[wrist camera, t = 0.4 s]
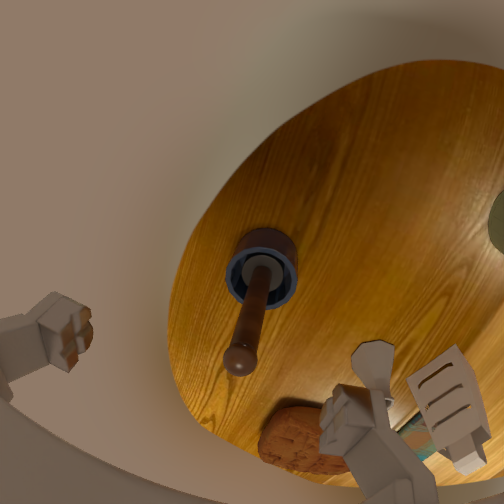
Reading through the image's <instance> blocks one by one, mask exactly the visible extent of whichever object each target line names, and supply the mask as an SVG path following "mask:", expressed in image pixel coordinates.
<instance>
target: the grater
mask: <svg viewBox="0 0 504 504" xmlns="http://www.w3.org/2000/svg"><path fill="white" fill-rule="evenodd" d="M450 362H452V364H453V366H451V367H447V368H445V369H444V370H442V371H441V372H440V373H438V374H437V375H435V376H434V377H432V378H431V379H429V380H428V381H426V382H425V383H423V384H422V386H421V388H420V389H419V388H418V385H419V383H420V382H421V381H422V380H424V379H425V378H427V377H428V376H429V375H431V374H432V373H434V372H435V371H437V370H438V369H440V368H441V367H442V366H444V365H445V364H447V363H450ZM406 381H407V383H408V385H409V387H410V390H411V392H412V394H413V396H414V398H415V400H416V403H417V405H418V407H419V409H420V412H421V414H422V416H423V418H424V421H425V423H426V425H427V428H428V430H429V432H430V435H431V437H432V440H433V442H434V444H435V447H436V449H437V452H439V453H440V454H442V455H443V456H445V457H446V458H448V459H450V460H451V461H452V462H453V465H454V467H455V469H456V471H458V472H460V473H462V474H463V475H465V476H466V475H468V474H470V473H472V472H474V471H476V470H477V469H479V468H481V467H483V466H484V465H486V464H487V460H486V456H485V453H484V450H483V447H482V444H483V443H484V442H486V441H487V440H489V439H490V438H491V433H490V429H489V424H488V420H487V416H486V412H485V408H484V404H483V400H482V397H481V393H480V390H479V386H478V383H477V380H476V376H475V373H474V370H473V369H472V367H471V366H470V364H469V363H468V361H467V360H466V358H465V357H464V356H463V354H462V353H461V351H460V350H459V348H458V347H457V346H456V344H454V345H453V346H452V347H450V348H449V349H448V350H446V351H445V352H444V353H442V354H441V355H440V356H438V357H437V358H435V359H434V360H433V361H431V362H430V363H428V364H427V365H426V366H424V367H423V368H421V369H420V370H418V371H417V372H415V373H414V374H412V375H411V376H409V377H408V378H406ZM427 404H428V406H429V407H428V406H427ZM470 405H471V407H472V408H471V409H466V408H467V407H469V406H470ZM426 406H427V407H428V408H429V409H428V408H426ZM425 408H426V409H427V410H426V409H425ZM456 414H457V415H456ZM435 423H436V425H435ZM434 425H435V426H436V427H434ZM432 427H434V428H435V430H434V428H433V429H432ZM432 430H433V431H434V432H432ZM443 448H445V449H446V451H445V449H443Z"/></svg>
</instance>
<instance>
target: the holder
mask: <svg viewBox="0 0 504 504" xmlns="http://www.w3.org/2000/svg"><path fill="white" fill-rule="evenodd" d="M256 252H262V253H268V254H272V255H274V256H275V257H277V258H279V259H281V260H282V261H283V262H284V263H285V269H284V277H283V281H282V283H281V284H280V286H279V287H278V288H276V289H275V290H273V291H270V292H269V294H268V299H267V304H266V310H270V309H276V308H278V307H280V306H281V305H283V304H285V303H287V302H288V301H289V299H290V298H291V297H292V296H293V294H294V293H295V290H296V285H297V281H298V254H297V250H296V247H295V245H294V243H293V242H292V240H291V239H290V238H289V237H288V236H287V235H285V234H284V233H282V232H280V231H278V230H275V229H270V228H261V229H256V230H253V231H251V232H249V233H248V234H246V235H245V236H244V237H243V238H242V239H241V241H240V242H239V244H238V246H237V248H236V249H235V251H234V253H233V256H232V258H231V260H230V262H229V264H228V266H227V268H226V278H225V280H226V283H227V286H228V289H229V292H230V293H231V294H232V295H233V296H234V298H235V299H236V300H237V301H238V302H240V303H241V304H243V302H244V299H245V295H246V292H247V289H248V286H247V285H246V284H245V282H244V281H243V278H242V274H241V271H242V267H243V264H244V261H245V259H246V256H247V254H251V253H256Z"/></svg>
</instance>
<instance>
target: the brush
mask: <svg viewBox="0 0 504 504" xmlns="http://www.w3.org/2000/svg"><path fill="white" fill-rule="evenodd" d="M284 269H285V263H284V262H283V261H282V260H281V259H279V258H277V257H275V256H274V255H272V254H268V253H262V252H256V253H251V254H247V256H246V259H245V261H244V264H243V267H242V271H241V274H242V278H243V281H244V282H245V284H246V285H247V286H248V289H247V292H246V295H245V299H244V302H243V305H242V308H241V311H240V314H239V317H238V321H237V324H236V327H235V330H234V333H233V336H232V339H231V343H230V346H229V348H228V349H227V350H226V351H225V353H224V356H223V363H224V366H225V368H226V370H227V371H228V372H229V373H230V374H232V375H234V376H239V377H242V376H247V375H249V374H250V373H252V372H253V371H254V369H255V368H256V366H257V361H258V359H257V349H258V344H259V339H260V334H261V330H262V325H263V320H264V315H265V310H266V304H267V299H268V294H269V292H270V291H273V290H275V289H276V288H278V287H279V286H280V284H281V283H282V281H283V277H284Z"/></svg>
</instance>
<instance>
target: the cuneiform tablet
mask: <svg viewBox="0 0 504 504" xmlns="http://www.w3.org/2000/svg"><path fill="white" fill-rule="evenodd" d="M321 410H322V409H317V408H311V407H303V406H299V407H289V408H284V409H281V410H279V411H277V412H276V413H275V414H274V415H273V417H272V418H271V421H270V422H269V423H268V425H267V426H266V427H265V428H264V430H263V432H262V434H261V437H260V439H259V441H258V452H259V455H260V458H261V459H262V460H263V461H264V462H266V463H269V464H274V465H276V466H280V467H282V468H285V469H292V470H296V471H299V472H311V473H312V474H324V475H328V474H329V475H339V474H342V473H345V472H350V470H349V468H348V466H347V464H346V463H345V461H344V459H343V457H342V456H334V455H326V454H320V453H319V436H320V435H321V434H322V432H323V430H322V429H321V427H320V426H319V418H320V413H321Z"/></svg>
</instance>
